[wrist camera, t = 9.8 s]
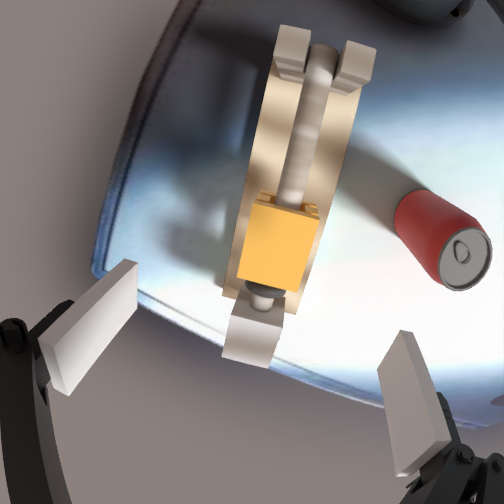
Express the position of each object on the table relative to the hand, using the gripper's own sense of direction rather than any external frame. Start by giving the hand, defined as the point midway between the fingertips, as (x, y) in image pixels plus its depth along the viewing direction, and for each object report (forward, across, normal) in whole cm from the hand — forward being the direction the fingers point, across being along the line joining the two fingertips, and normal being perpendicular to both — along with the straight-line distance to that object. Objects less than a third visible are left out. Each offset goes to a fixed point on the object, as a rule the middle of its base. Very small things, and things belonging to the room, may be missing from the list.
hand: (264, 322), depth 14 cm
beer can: (+21, +15, +3) cm, 26 cm away
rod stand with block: (+20, 0, +2) cm, 21 cm away
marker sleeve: (+14, 0, 0) cm, 14 cm away
